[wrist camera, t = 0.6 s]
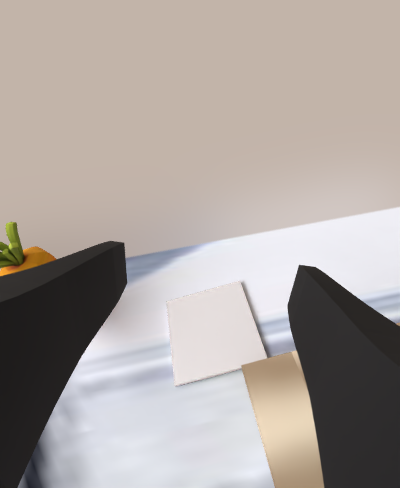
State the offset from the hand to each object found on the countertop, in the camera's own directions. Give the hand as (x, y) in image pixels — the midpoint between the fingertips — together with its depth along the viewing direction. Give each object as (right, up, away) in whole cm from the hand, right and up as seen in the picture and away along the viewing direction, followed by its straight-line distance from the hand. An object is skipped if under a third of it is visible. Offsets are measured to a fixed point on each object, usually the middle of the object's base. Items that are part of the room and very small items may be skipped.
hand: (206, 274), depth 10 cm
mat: (+1, -8, +16) cm, 18 cm away
